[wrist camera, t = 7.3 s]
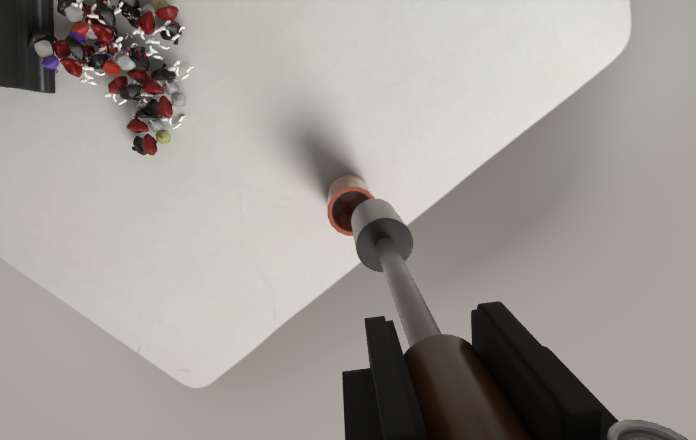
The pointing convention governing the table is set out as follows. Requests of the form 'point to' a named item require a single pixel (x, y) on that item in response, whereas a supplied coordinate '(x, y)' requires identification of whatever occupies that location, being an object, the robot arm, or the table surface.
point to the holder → (346, 201)
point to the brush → (433, 342)
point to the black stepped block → (24, 45)
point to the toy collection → (104, 29)
